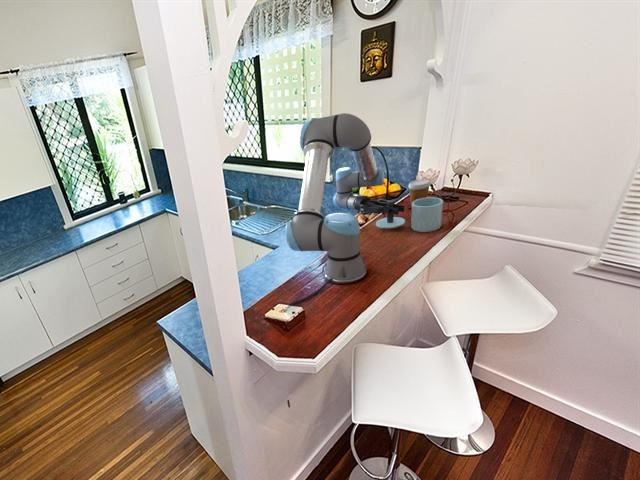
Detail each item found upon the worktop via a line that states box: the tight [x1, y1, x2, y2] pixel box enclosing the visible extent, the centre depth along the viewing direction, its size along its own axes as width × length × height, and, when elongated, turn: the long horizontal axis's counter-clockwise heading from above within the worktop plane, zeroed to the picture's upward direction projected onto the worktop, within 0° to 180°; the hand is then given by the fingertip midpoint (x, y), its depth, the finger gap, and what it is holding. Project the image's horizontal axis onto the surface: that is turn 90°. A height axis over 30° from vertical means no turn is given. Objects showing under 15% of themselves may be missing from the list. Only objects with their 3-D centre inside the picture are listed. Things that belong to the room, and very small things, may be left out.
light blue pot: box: [410, 196, 444, 233], centre depth 149 cm, size 11×11×12 cm
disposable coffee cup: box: [407, 179, 431, 208], centre depth 170 cm, size 10×10×12 cm
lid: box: [375, 199, 406, 229], centre depth 155 cm, size 12×12×11 cm
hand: (400, 210), depth 149 cm, fingers closed on lid, 3 cm apart
